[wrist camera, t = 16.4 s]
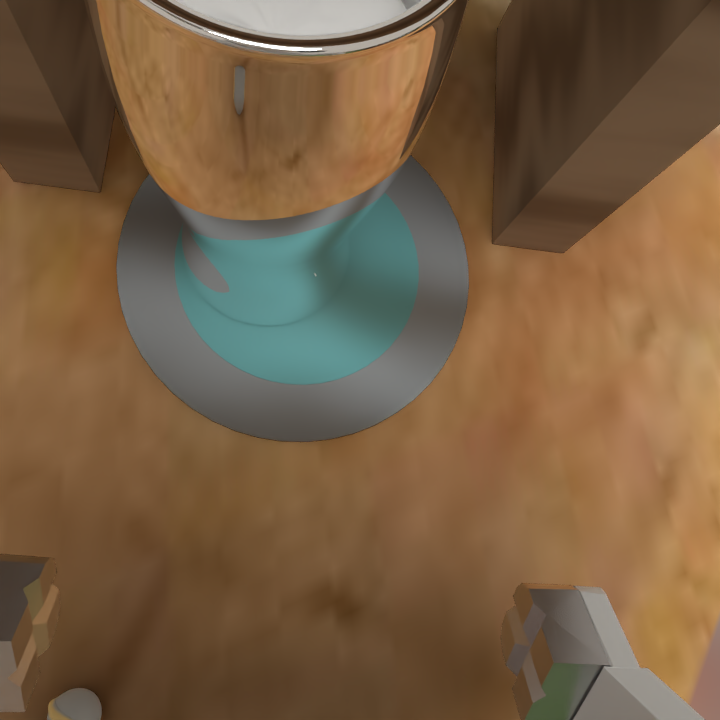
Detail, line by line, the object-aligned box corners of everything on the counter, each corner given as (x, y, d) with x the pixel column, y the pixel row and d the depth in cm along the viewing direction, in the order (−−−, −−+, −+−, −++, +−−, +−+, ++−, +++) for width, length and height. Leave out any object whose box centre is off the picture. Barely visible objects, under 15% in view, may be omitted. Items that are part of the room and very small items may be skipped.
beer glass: (149, 318, 23) (-35, -8, 8) (192, 143, 24) (102, -381, 10) (344, 355, 24) (484, 117, 9) (373, 183, 25) (531, -247, 11)
